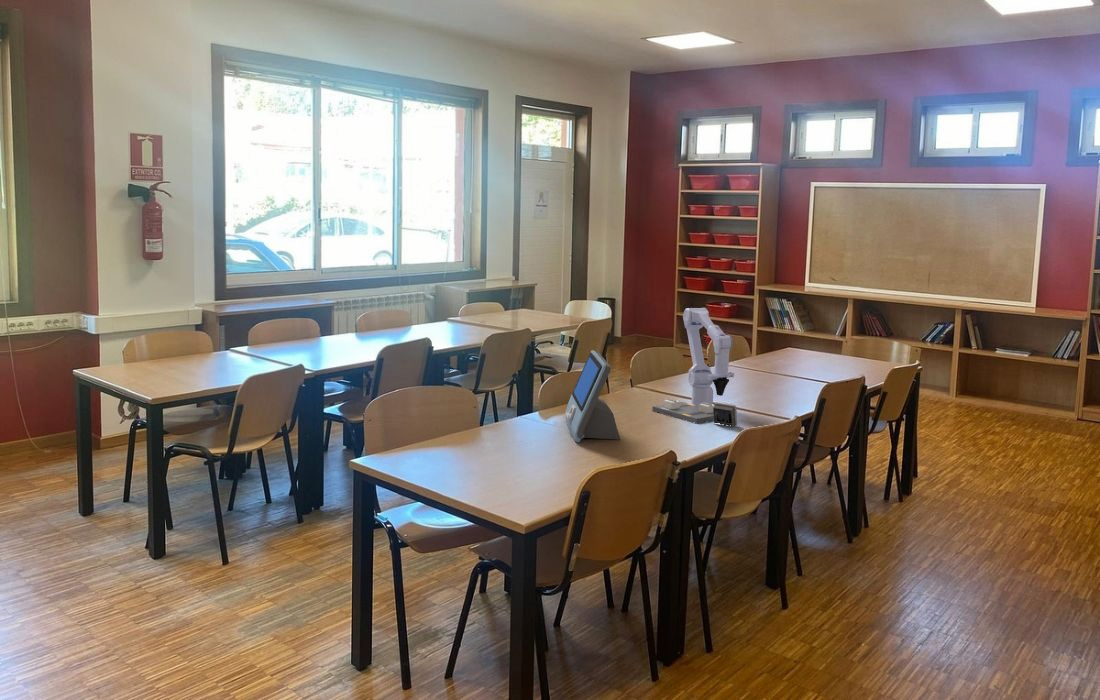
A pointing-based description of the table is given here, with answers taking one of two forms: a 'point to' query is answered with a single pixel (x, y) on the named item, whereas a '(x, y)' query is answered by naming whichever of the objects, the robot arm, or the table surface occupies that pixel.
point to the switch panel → (685, 412)
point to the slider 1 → (671, 404)
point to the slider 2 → (706, 407)
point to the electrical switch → (725, 413)
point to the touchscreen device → (591, 403)
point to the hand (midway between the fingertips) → (719, 395)
